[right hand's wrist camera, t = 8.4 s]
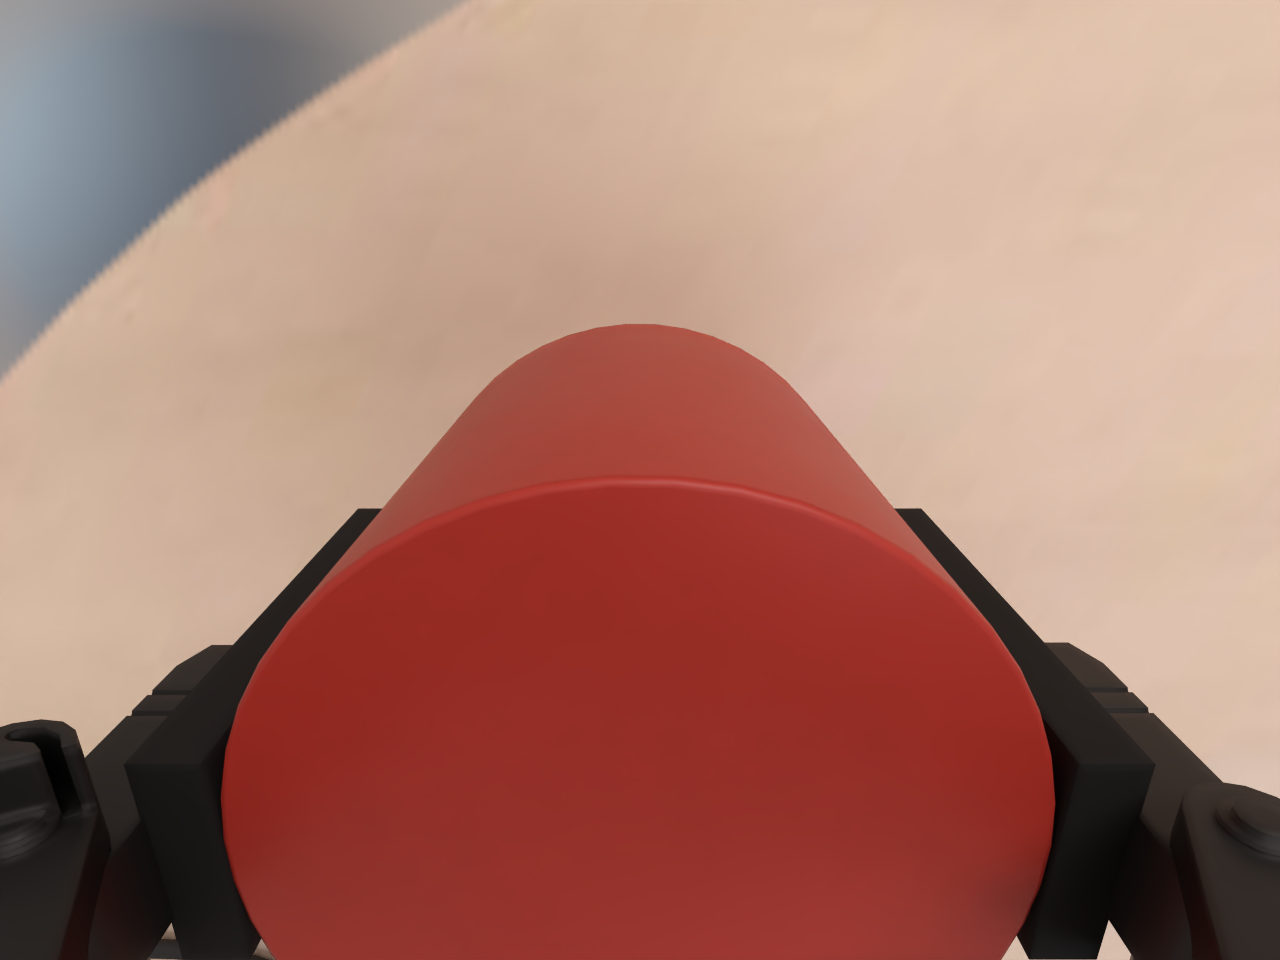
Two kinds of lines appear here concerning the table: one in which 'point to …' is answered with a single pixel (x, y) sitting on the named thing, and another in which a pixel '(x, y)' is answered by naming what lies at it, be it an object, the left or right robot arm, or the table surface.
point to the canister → (638, 696)
